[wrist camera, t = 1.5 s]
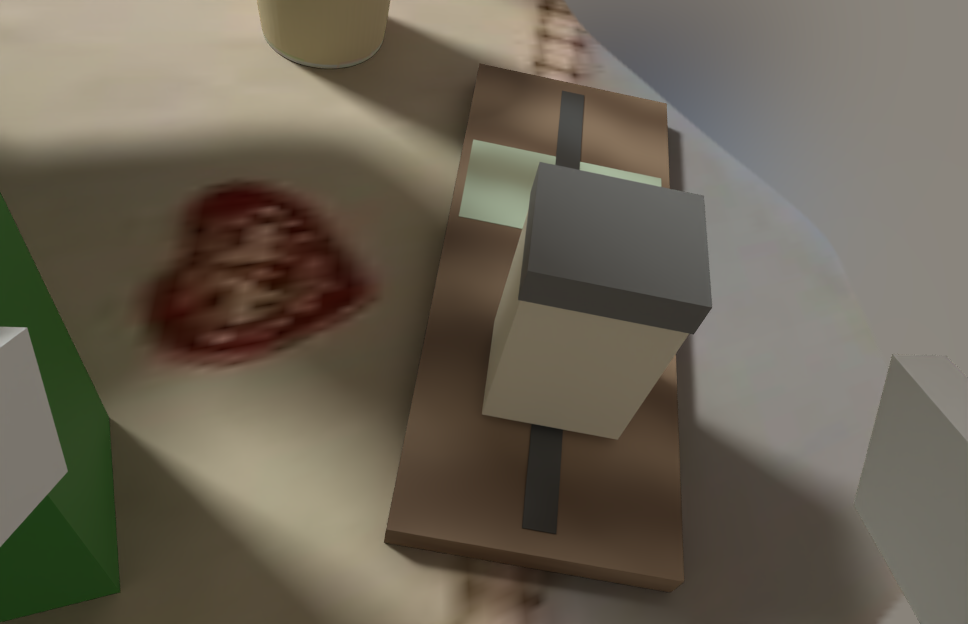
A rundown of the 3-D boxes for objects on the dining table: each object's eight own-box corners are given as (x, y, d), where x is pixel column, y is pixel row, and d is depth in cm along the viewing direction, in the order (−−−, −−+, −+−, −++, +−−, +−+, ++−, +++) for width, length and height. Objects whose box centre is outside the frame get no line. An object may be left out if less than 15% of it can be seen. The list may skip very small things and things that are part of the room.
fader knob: (619, 442, 33) (711, 307, 25) (479, 416, 33) (527, 270, 25) (621, 343, 36) (703, 195, 28) (492, 318, 36) (539, 161, 28)
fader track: (670, 592, 32) (685, 581, 31) (383, 542, 31) (386, 528, 30) (658, 122, 50) (666, 102, 49) (475, 83, 49) (479, 62, 48)
